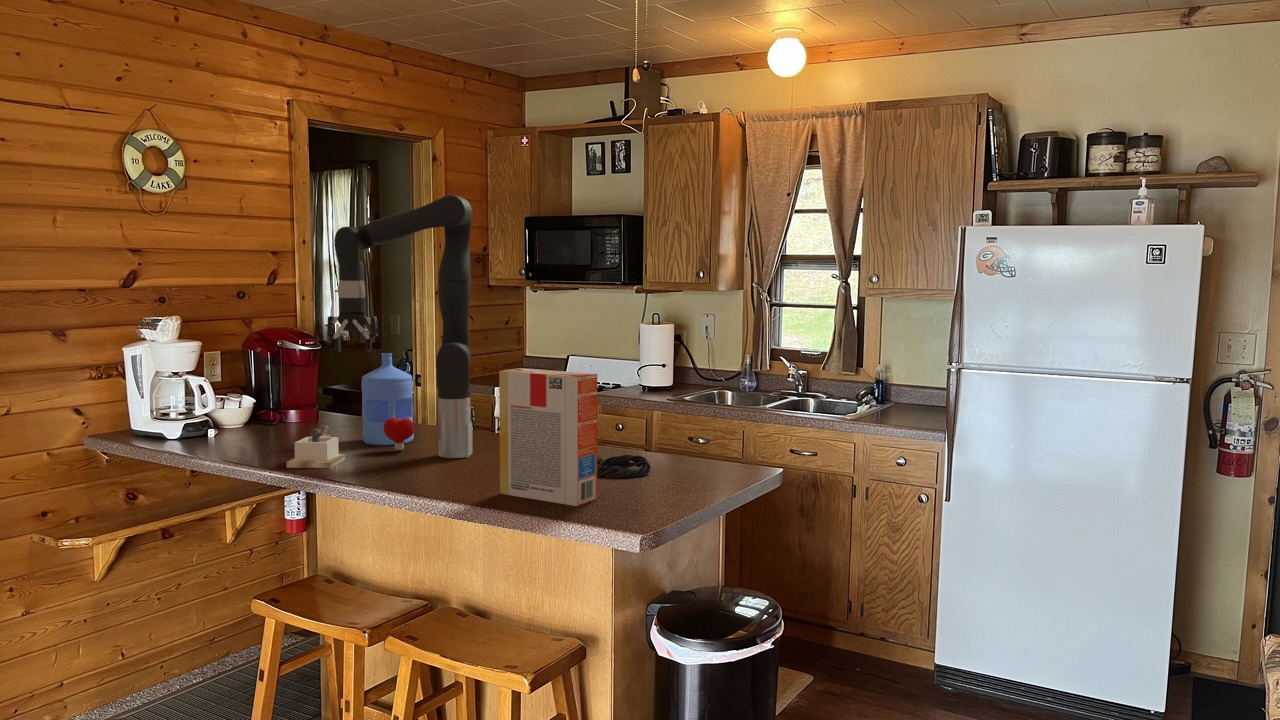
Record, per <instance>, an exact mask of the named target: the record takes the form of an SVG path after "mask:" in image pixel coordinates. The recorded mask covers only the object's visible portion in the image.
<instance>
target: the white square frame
mask: <svg viewBox="0 0 1280 720" xmlns="http://www.w3.org/2000/svg"><path fill="white" fill-rule="evenodd" d="M339 449H340V448H339V436H331V434H327V435H322V436H320V442H312V437H310V436H306V437H304V438H301V439H300V440H297V441H295V442H294V458H295V461H328V460H330V459H332V458H333V457H335V456H337V455H339V454H340V453H339V451H340V450H339Z"/></svg>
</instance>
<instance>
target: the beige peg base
mask: <svg viewBox="0 0 1280 720" xmlns="http://www.w3.org/2000/svg"><path fill="white" fill-rule="evenodd" d="M309 434H310V436H312V442H320V435H321V431H320V429H319V428H312V429H311V430H310V433H309ZM344 460H346V453H339V455H337V456H335V457H333V458H332V459H330V460H328V461H295V457H294V458H292V459H290V460H287V462H286V468H289V469H293V468H295V469H301V468H302V469H331V468H333V467H335V466H336V465H337V464H339V463H342V462H344Z"/></svg>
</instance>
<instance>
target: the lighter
mask: <svg viewBox="0 0 1280 720" xmlns="http://www.w3.org/2000/svg"><path fill="white" fill-rule="evenodd" d="M329 428H330V426H329V425H325V424H322V425H321V427H320V429H319V430H320V431H321V435H320V436H322V435H328V432H329ZM309 437H312V436H311V435H310V436H309Z"/></svg>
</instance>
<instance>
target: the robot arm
mask: <svg viewBox="0 0 1280 720" xmlns="http://www.w3.org/2000/svg"><path fill="white" fill-rule="evenodd" d="M472 221H473V208H472V206H471V204H470V202H469V201H468V200H467V199H465V198H464V197H463V196H460V195H455V194H448V195H445V196H443V197H440V198H438V199H436V200H434V201H431V202H429V203H427V204H425V205H422V206H420V207H418V208H415V209H411V210H408V211H405V212H400V213H397V214H393V215H388V216H385V217H381V218H378V219H375V220H374V219H373V220H371V221H370V222H368V223H367V224H364V225H360V226H354V227H353V226H352V227H350V226H343V227H340V228H339V229H338V230H337V231H336V233H335V234H334V241H333V242H334V243H333V245H334V250H335V251H334V252H335V255H336V259H337V263H338V289H337V297H338V299H337V300H338V316H334V315H329V316H328V317H327V326H326V327H327V328H326V331H327V332H326V337H328V338H329V337H330V338H331V339H333V348H334V349H333V350H335V351H336V352H337V353H340V352H342V339H341V337H342V336H343V334H344V333H346V332H351V331H353V332H360V333H361V334H362V335H363V337H365V340H364V343H365V344H364V345H365V347H364V349H365V353H369V352H371V350H372V349H373V338H376V337H378V336H379V327H378V318H377V316H374V315H373V316H367V313H366V311H367V310H366V307H367V306H366V304H367V303H366V284H365V268H364V263H363V262H362V261H361V260H360V253H359V252H362V251H365V250H366V249H367V250H368V249H370V248H372V247H375V246H377V245H383V244H386V243H390V242H393V241H397V240H400V239H402V238H405V237H407V236H410V235H413V234H415V233H417V232H420V231H423V230H428V229H434V228H443V229H444V230H443V231H444V248H443V253H442V256H441V259H440V265H439V269H438V276H437V277H438V279H437V288H438V289H437V294H438V296H437V297H438V304H439V309H440V316H441V321H442V335H441V345H440V346H441V347H440V348H439V350H438V351H437V354H436V359H435V361H436V362H435V363H436V364H435V365H436V366H435V367H436V389H437V406H438V407H437V410H438V411H437V412H438V413H437V415H438V416H437V417H438V420H437V422H438V423H437V424H438V426H437V427H438V429H437V430H438V457H440V458H443V459H444V458H445V459H462V458H470V456H471V455H473V422H472V421H471V385H470V364H471V361H472V360H471V357H472V355H471V347H470V339H469V338H470V337H469V316H470V308H471V291H472V289H471V287H472V286H471V281H472V279H471V255H470V253H471V252H470V249H471V248H470V243H471V242H470V241H471V239H470V238H471V233H472V232H471V230H472V223H473V222H472ZM337 322H338V323H339V325H340V326H339V327H338V328H337V330H336V332H335V324H337ZM366 323H368V324H369V325H370V330H371V332H370V330H369V329H368V328H367V326H366Z"/></svg>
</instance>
